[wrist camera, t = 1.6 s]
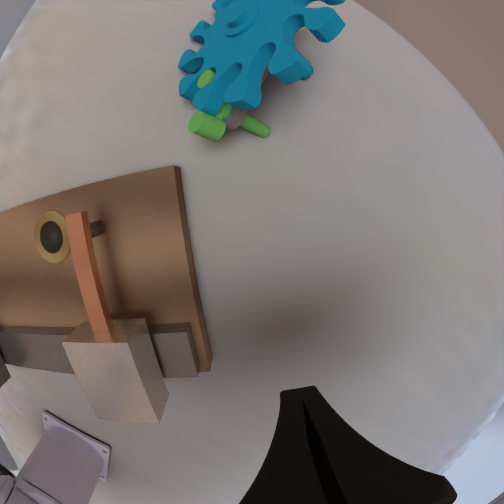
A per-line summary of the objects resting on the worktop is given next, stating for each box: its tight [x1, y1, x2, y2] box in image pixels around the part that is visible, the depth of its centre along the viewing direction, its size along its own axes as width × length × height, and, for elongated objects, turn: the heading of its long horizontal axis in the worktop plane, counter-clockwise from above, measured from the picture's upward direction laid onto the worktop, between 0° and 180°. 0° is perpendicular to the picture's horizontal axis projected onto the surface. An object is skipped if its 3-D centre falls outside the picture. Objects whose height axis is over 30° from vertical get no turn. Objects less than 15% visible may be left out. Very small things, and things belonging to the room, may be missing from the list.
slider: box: [62, 211, 169, 424], centre depth 13 cm, size 11×4×4 cm, turn 7°
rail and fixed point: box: [0, 322, 200, 387], centre depth 13 cm, size 11×21×4 cm, turn 97°
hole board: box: [0, 165, 212, 372], centre depth 15 cm, size 12×22×2 cm, turn 97°
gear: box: [178, 0, 346, 141], centre depth 12 cm, size 11×6×10 cm
